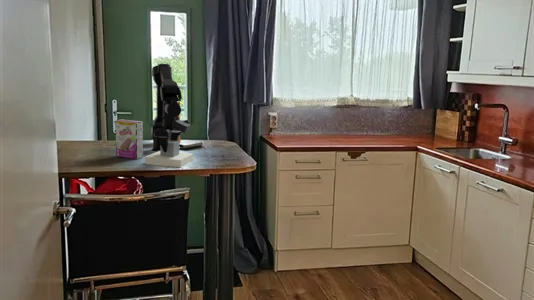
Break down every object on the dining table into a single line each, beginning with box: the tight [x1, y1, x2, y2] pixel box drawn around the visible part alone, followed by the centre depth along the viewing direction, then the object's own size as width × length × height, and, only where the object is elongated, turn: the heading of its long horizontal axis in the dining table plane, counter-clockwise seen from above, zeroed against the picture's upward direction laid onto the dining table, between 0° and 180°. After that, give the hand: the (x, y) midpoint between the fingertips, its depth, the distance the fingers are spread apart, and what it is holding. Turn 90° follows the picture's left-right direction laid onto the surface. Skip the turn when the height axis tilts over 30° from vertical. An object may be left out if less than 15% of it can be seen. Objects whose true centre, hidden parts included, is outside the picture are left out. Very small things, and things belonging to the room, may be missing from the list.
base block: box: [144, 151, 194, 168], centre depth 201 cm, size 16×14×3 cm
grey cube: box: [160, 140, 180, 157], centre depth 200 cm, size 6×6×6 cm
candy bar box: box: [114, 118, 144, 160], centre depth 206 cm, size 11×5×16 cm, turn 71°
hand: (169, 150), depth 200 cm, fingers open, 9 cm apart
